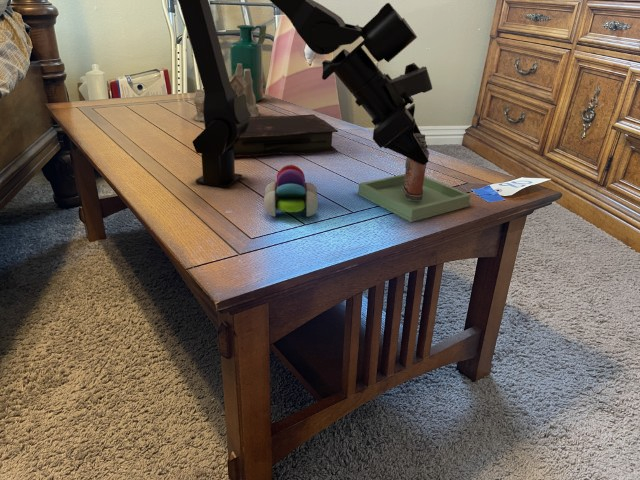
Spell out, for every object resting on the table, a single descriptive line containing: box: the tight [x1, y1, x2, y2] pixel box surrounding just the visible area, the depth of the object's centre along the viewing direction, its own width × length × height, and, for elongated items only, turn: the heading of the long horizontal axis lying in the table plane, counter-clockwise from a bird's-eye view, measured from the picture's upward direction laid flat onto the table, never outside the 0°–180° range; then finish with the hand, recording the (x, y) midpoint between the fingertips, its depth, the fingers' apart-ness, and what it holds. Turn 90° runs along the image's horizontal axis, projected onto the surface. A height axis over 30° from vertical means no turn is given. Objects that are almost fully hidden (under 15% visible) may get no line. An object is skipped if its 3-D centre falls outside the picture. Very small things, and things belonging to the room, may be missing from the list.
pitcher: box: [229, 24, 267, 103], centre depth 156 cm, size 10×8×22 cm
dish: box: [357, 173, 472, 223], centre depth 89 cm, size 14×14×2 cm
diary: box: [234, 113, 339, 157], centre depth 115 cm, size 19×25×5 cm
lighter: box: [402, 133, 430, 201], centre depth 86 cm, size 8×3×10 cm, turn 178°
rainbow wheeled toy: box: [263, 164, 319, 218], centre depth 81 cm, size 8×10×7 cm
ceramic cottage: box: [193, 64, 260, 123], centre depth 136 cm, size 16×16×15 cm
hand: (425, 155), depth 85 cm, fingers closed on lighter, 8 cm apart
